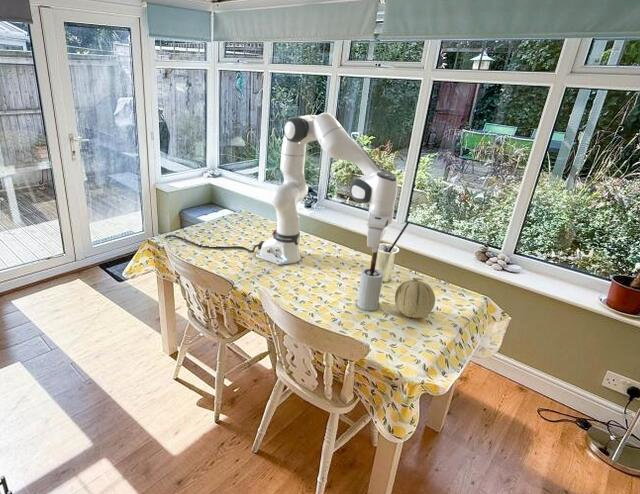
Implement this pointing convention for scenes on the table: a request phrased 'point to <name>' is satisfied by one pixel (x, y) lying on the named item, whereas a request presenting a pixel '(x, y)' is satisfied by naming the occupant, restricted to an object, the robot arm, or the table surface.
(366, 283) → the grey hollow cylinder
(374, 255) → the brown pestle
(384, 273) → the glass
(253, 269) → the table surface
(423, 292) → the cantaloupe
